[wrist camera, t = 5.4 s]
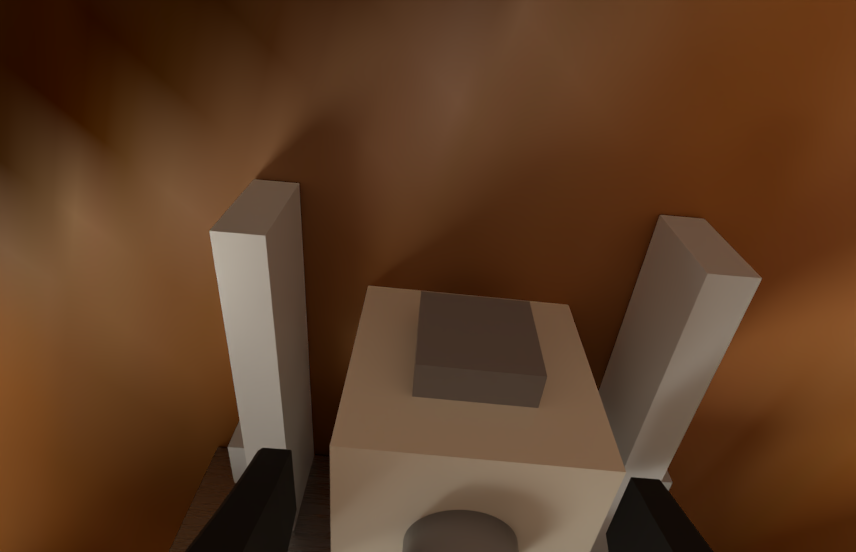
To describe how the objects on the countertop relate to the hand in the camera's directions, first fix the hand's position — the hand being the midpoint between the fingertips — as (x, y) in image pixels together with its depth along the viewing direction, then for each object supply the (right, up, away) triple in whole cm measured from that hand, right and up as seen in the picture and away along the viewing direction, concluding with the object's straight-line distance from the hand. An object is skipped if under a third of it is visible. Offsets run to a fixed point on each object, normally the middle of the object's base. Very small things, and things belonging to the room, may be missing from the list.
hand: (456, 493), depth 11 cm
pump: (0, +2, +3) cm, 4 cm away
